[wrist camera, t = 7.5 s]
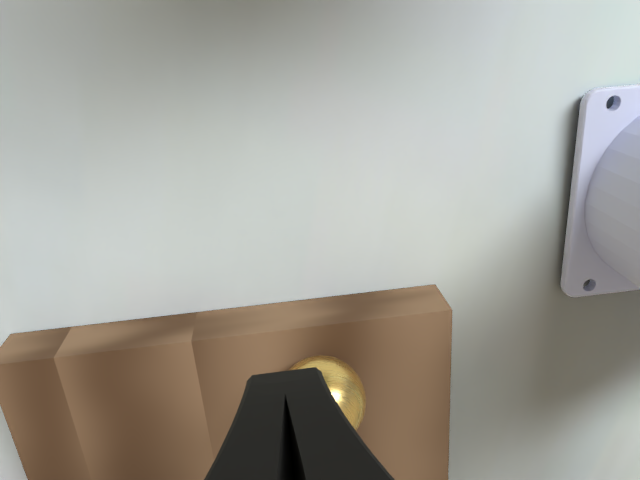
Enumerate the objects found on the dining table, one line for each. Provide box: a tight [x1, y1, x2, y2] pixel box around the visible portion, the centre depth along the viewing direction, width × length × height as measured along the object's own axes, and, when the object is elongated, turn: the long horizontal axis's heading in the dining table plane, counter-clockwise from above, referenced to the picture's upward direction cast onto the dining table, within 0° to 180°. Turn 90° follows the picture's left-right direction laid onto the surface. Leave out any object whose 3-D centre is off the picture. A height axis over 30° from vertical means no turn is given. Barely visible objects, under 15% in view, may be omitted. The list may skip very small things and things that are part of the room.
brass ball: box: [290, 355, 366, 430], centre depth 18 cm, size 3×3×3 cm
